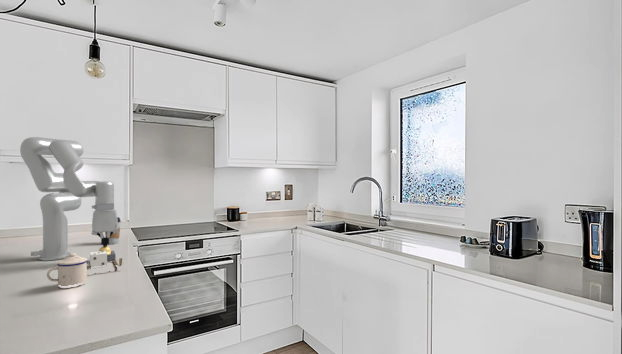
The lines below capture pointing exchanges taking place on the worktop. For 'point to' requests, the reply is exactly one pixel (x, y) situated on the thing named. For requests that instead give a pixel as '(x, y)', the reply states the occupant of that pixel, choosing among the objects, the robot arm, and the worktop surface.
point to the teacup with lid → (70, 270)
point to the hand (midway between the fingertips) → (105, 246)
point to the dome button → (105, 249)
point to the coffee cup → (115, 235)
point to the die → (98, 258)
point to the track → (119, 261)
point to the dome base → (111, 256)
